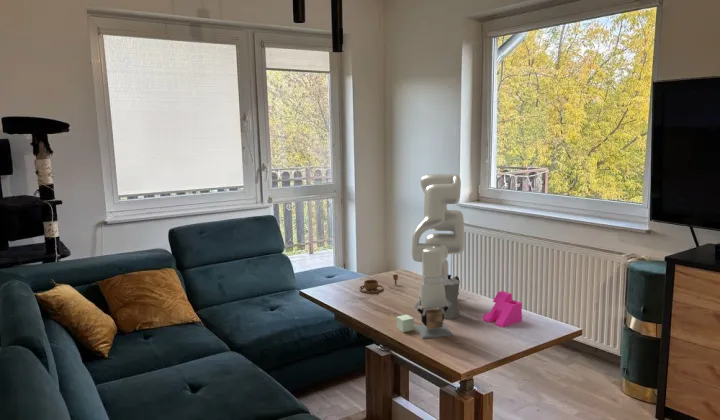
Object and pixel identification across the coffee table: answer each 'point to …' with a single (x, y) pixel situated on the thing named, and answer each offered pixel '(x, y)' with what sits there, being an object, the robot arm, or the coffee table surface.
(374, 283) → the place setting
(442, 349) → the coffee table surface
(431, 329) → the slate coaster
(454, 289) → the coffeepot
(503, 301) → the pink angular chunky piece
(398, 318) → the pale green block
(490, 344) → the coffee table surface
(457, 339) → the coffee table surface
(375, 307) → the coffee table surface
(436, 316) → the walnut cube
